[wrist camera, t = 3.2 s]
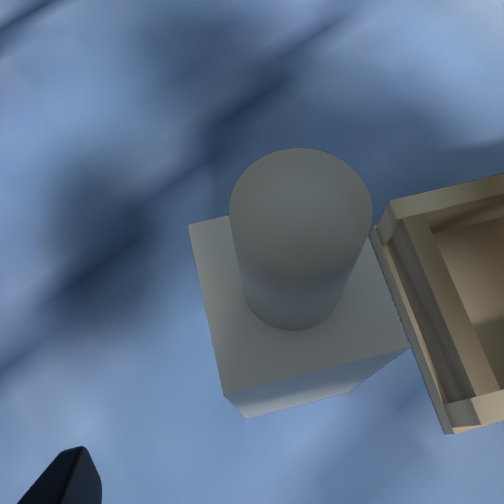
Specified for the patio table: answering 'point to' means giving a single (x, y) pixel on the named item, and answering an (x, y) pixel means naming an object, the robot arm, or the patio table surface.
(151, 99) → the patio table surface
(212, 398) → the patio table surface
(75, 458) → the robot arm
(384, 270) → the tray
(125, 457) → the patio table surface
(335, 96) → the patio table surface
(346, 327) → the grey plug
